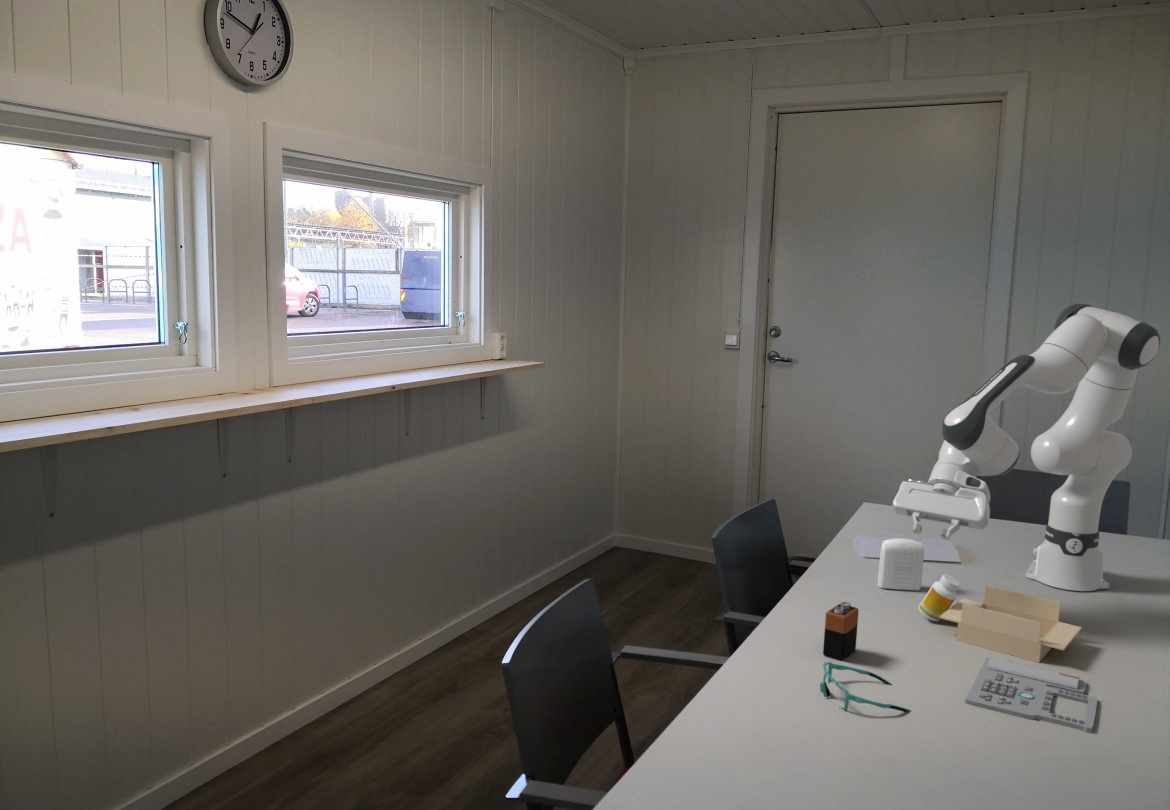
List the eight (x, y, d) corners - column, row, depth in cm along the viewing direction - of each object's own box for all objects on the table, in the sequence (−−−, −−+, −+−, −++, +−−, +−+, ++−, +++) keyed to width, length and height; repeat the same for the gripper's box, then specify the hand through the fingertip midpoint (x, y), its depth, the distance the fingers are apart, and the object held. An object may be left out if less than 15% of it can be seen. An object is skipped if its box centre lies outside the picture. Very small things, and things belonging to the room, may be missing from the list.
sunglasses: (810, 678, 171) (814, 653, 170) (888, 689, 171) (893, 664, 170) (827, 714, 157) (832, 687, 156) (913, 726, 157) (919, 699, 156)
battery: (856, 651, 184) (859, 603, 182) (842, 661, 178) (846, 612, 177) (835, 645, 186) (839, 598, 185) (821, 655, 181) (825, 607, 180)
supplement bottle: (941, 626, 199) (964, 591, 196) (918, 613, 200) (940, 579, 197) (940, 614, 204) (962, 580, 201) (917, 602, 205) (939, 568, 202)
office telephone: (986, 650, 182) (1101, 675, 171) (985, 662, 182) (1099, 688, 172) (965, 692, 162) (1093, 723, 152) (964, 706, 162) (1091, 738, 152)
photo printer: (917, 586, 224) (922, 537, 222) (923, 592, 220) (927, 542, 218) (875, 583, 225) (879, 535, 223) (879, 589, 221) (883, 540, 219)
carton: (962, 614, 206) (965, 580, 204) (1080, 644, 190) (1084, 608, 189) (937, 634, 194) (940, 598, 192) (1061, 668, 178) (1065, 629, 177)
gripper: (900, 469, 210) (881, 518, 204) (993, 483, 198) (975, 536, 191) (906, 485, 214) (887, 534, 208) (998, 500, 202) (980, 552, 195)
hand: (930, 535), depth 200 cm, fingers open, 5 cm apart
